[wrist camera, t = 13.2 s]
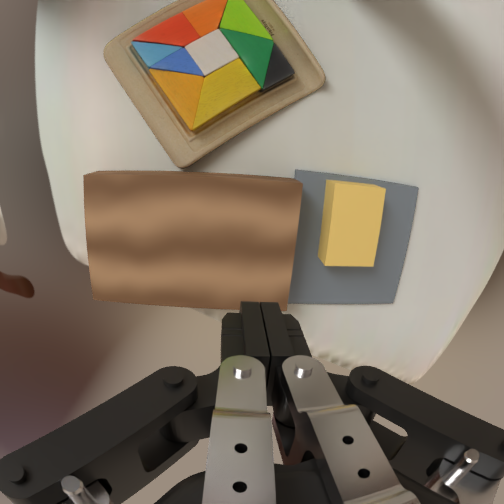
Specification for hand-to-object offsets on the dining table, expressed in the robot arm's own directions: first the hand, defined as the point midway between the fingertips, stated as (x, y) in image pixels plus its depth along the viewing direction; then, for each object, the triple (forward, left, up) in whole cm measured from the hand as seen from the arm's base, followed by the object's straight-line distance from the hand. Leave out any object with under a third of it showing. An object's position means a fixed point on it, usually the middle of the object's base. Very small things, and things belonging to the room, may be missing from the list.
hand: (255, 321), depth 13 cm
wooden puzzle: (-16, -4, -24) cm, 29 cm away
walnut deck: (+4, -5, -23) cm, 24 cm away
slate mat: (+4, +14, -23) cm, 27 cm away
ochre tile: (+1, +13, -21) cm, 25 cm away
